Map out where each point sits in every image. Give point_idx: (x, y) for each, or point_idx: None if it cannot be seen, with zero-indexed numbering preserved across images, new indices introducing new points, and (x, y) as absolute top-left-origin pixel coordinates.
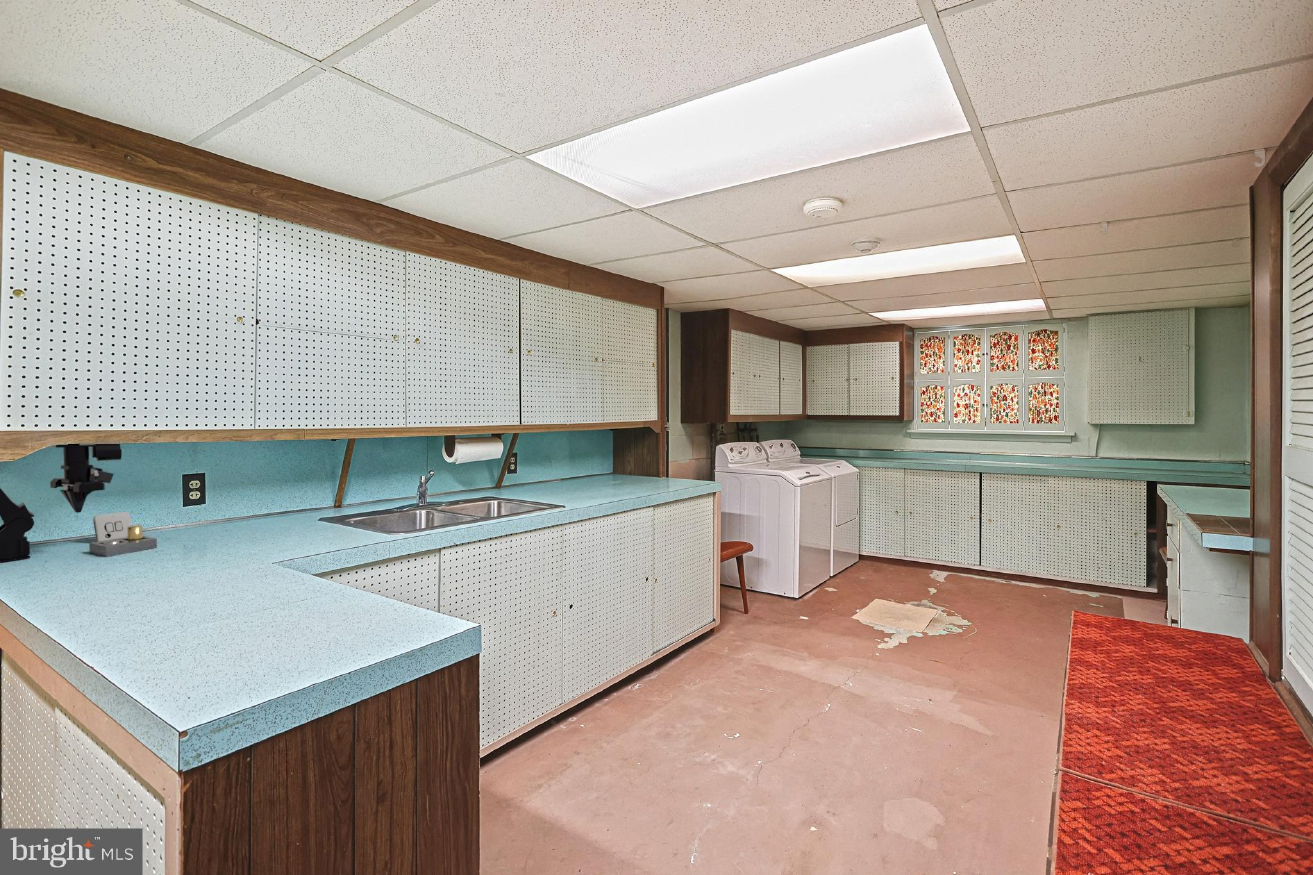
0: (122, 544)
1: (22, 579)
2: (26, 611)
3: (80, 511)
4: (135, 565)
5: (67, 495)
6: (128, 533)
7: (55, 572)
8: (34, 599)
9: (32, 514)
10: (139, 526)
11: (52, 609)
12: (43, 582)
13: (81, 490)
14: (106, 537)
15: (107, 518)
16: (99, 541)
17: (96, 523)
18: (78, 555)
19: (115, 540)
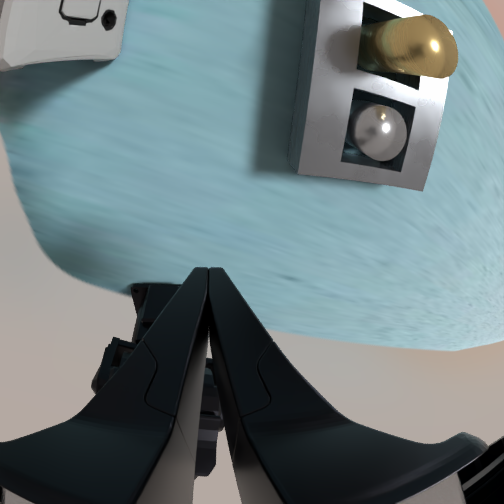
0: (435, 140)
1: (396, 337)
2: (480, 344)
3: (223, 274)
4: (501, 208)
5: (193, 476)
6: (413, 74)
7: (412, 301)
8: (469, 338)
9: (204, 423)
10: (450, 42)
11: (494, 332)
12: (438, 324)
13: (482, 460)
14: (112, 27)
15: (38, 2)
16: (305, 135)
17: (47, 58)
18: (297, 201)
19: (383, 117)
